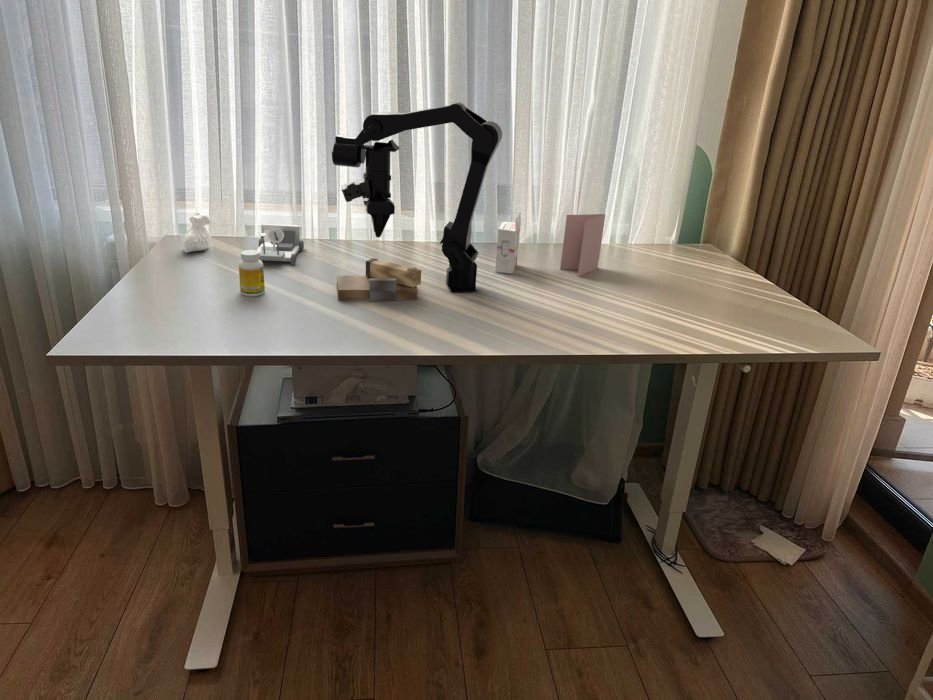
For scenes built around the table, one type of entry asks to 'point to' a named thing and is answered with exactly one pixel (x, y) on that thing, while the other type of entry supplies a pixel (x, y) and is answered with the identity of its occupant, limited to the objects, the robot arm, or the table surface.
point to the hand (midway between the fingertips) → (377, 234)
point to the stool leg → (393, 272)
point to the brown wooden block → (373, 289)
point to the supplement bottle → (251, 274)
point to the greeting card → (582, 242)
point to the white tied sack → (197, 233)
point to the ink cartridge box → (508, 246)
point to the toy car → (280, 242)
